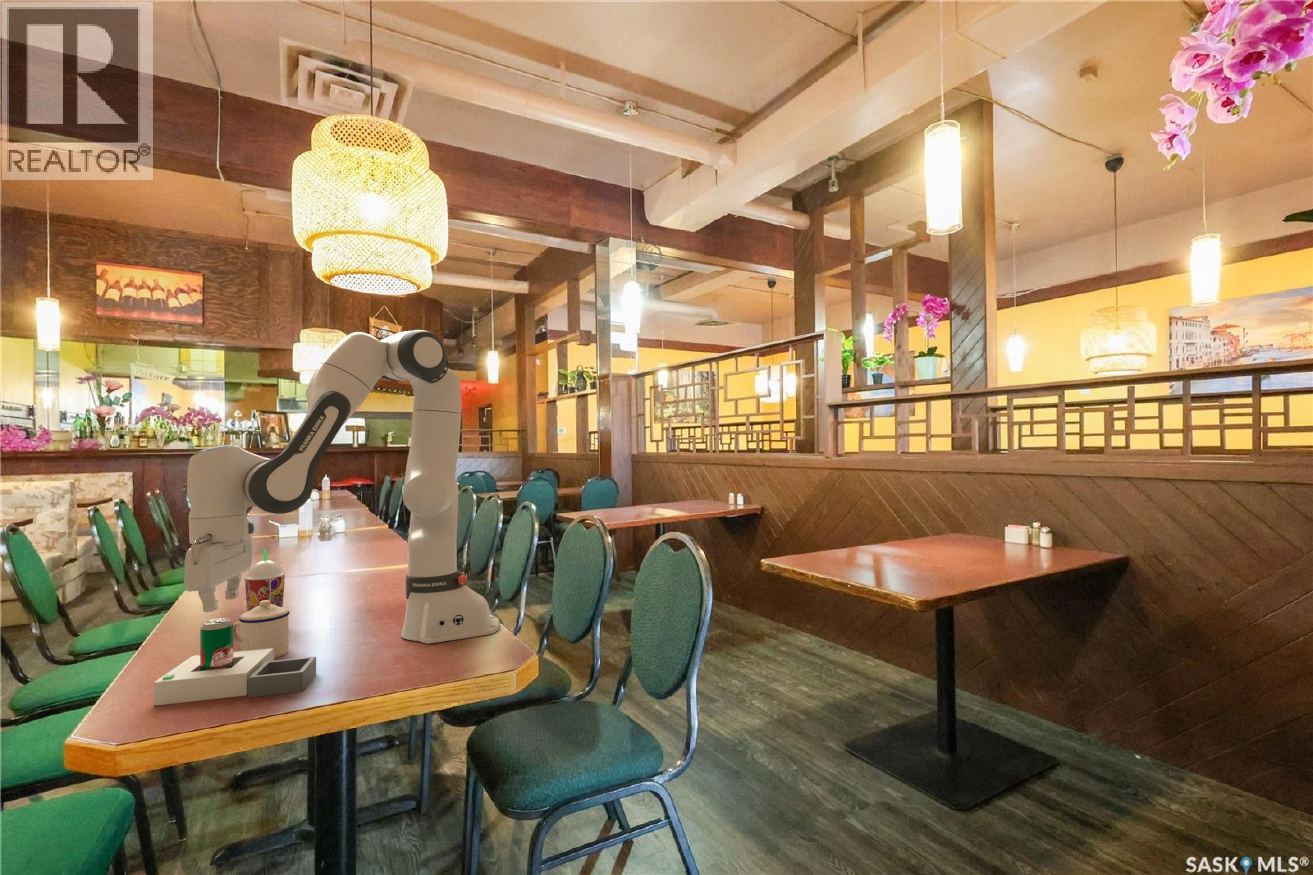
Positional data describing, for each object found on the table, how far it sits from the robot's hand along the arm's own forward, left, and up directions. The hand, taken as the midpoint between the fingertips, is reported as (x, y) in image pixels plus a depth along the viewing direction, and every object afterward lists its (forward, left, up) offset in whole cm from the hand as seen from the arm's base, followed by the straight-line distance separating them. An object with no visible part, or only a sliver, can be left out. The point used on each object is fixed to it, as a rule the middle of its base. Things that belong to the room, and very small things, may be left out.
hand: (221, 604), depth 112 cm
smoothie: (+5, -37, -15) cm, 40 cm away
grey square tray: (-11, +4, -15) cm, 19 cm away
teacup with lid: (0, -17, -15) cm, 23 cm away
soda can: (+1, 0, -15) cm, 15 cm away
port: (+1, 0, -15) cm, 15 cm away
